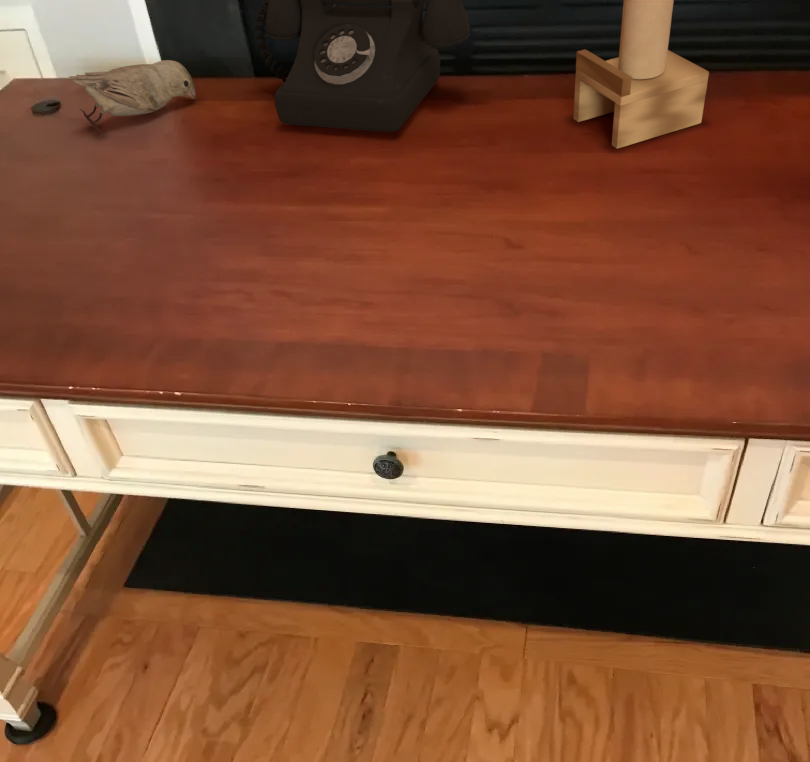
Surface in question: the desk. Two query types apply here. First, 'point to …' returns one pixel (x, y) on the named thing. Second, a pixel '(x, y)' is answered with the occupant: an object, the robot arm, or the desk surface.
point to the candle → (645, 37)
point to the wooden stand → (639, 97)
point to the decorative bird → (136, 88)
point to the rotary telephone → (359, 58)
